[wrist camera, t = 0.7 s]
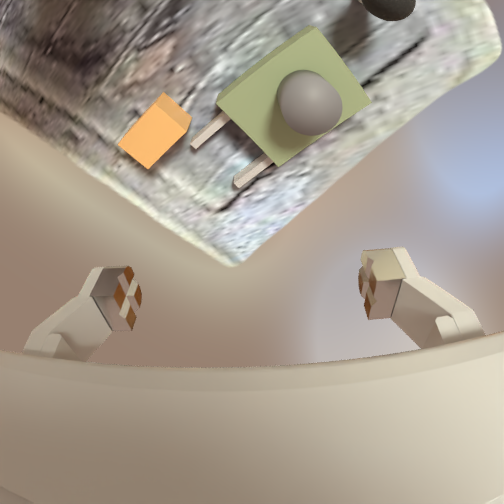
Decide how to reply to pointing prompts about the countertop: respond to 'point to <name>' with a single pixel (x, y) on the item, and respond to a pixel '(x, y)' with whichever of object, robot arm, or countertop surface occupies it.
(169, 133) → the tall orange cuboid
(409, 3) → the light bulb
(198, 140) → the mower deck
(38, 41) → the countertop surface
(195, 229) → the countertop surface
